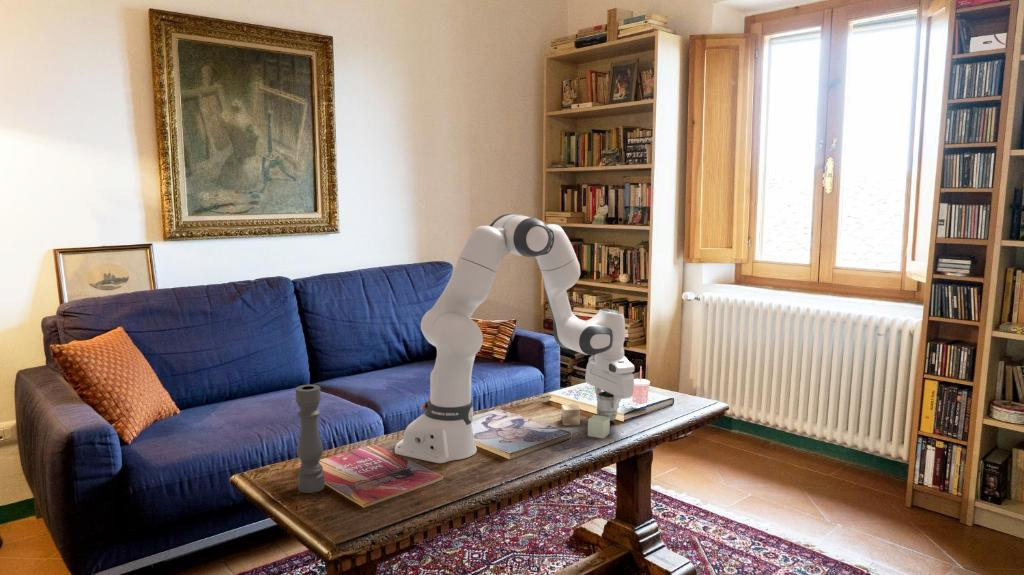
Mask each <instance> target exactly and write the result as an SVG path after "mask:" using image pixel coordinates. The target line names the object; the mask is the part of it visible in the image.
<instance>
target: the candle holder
mask: <svg viewBox="0 0 1024 575" xmlns="http://www.w3.org/2000/svg"><path fill="white" fill-rule="evenodd" d="M321 396H322V394H321V386H320V385H317V384H303V385H298V386H296V387H295V402H296V405H297V406H298V409H299V411H298V412H297V417H298V418H299V419H300V433H299V438H298V443H297V444H298V445H297V448H296V454H297V457H298V458H299V460H300V463H301V465H300V467H299V468H298V472H299V473H298V475H297V489H298V491H299V492H301V493H304V494H312V493H314V494H315V493H318V492H320V491H323V489H324V488H325V486H326V485H325V472H324V471H323V470H324V466H322V464H321V463H320V462H321V458H322V455H323V454H324V446H323V443H322V439H321V436H320V432H319V426H318V423H319V422H318V418H319V416H320V415H321V411H320V409H318V408H319V405H320V403H321Z"/></svg>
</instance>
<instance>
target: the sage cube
mask: <svg viewBox="0 0 1024 575" xmlns="http://www.w3.org/2000/svg"><path fill="white" fill-rule="evenodd" d="M610 421H611V420H610V417H604V416H598V415H597V414H593V415H592V416H591V417H590V418H589V419H588V420H587V437H591V438H598V439H605V438H607V436H609V435H610V429H611V428H610V425H611V422H610Z"/></svg>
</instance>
